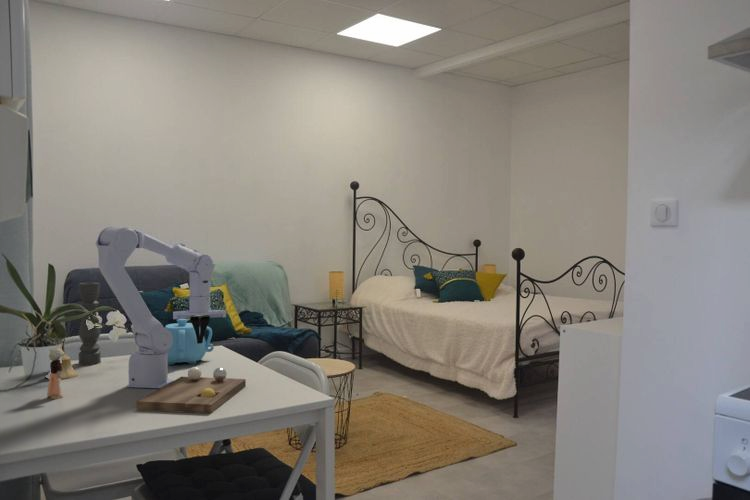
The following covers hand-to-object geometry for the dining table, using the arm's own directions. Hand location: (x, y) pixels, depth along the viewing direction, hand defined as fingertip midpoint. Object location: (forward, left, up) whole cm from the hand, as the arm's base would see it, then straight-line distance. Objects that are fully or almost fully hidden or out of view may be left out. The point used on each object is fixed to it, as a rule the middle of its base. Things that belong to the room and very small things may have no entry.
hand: (199, 342), depth 172 cm
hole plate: (+8, -22, -9) cm, 25 cm away
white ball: (+4, -13, -6) cm, 15 cm away
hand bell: (-38, -7, -10) cm, 40 cm away
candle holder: (-40, +10, -10) cm, 42 cm away
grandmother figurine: (-26, -27, -10) cm, 39 cm away
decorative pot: (-13, +17, -10) cm, 23 cm away
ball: (+13, -26, -8) cm, 30 cm away
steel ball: (+11, -13, -6) cm, 18 cm away
